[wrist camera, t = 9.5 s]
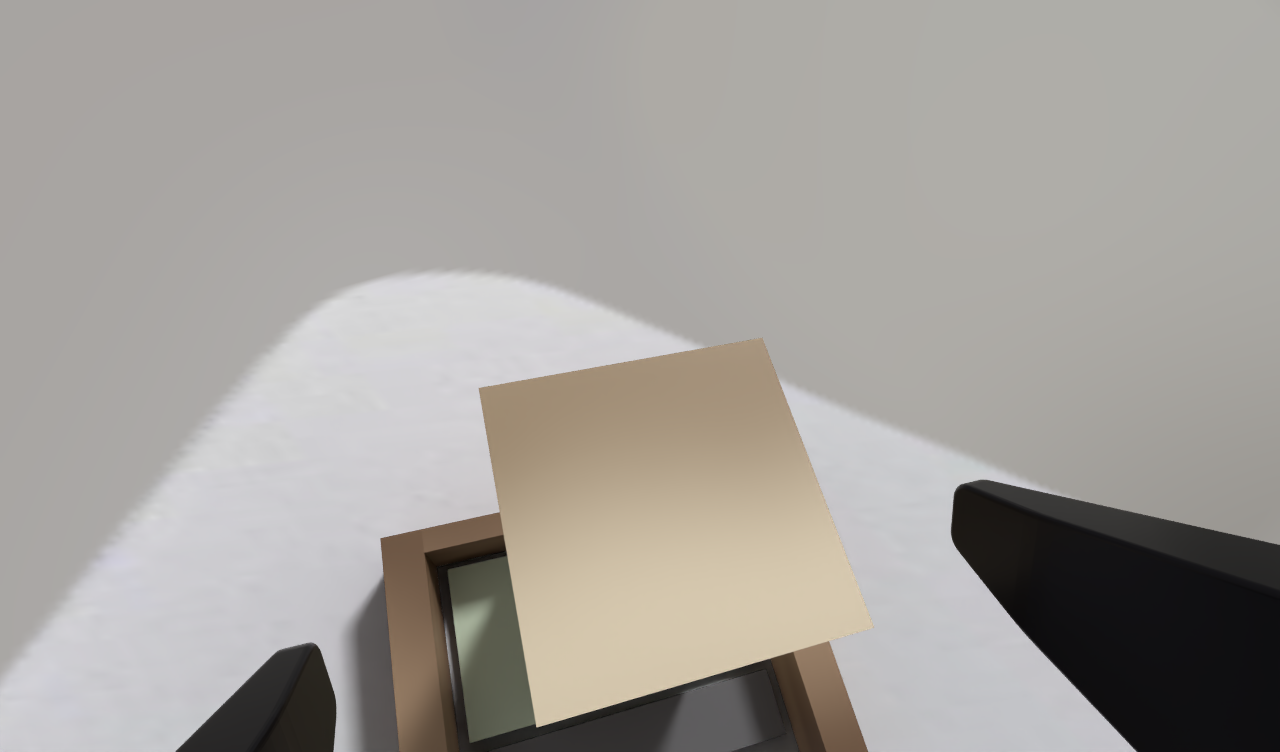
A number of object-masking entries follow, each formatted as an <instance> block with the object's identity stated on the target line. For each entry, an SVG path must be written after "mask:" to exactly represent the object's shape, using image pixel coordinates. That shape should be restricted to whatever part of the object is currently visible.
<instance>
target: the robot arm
mask: <svg viewBox="0 0 1280 752" xmlns="http://www.w3.org/2000/svg"><path fill="white" fill-rule="evenodd" d="M951 536H952V540H953V543H954V545H955V547H956V548H957V550H958V551H959V552H960V554H961V555H962V556H963V557H964V559H965V560H966V561H967V562H968V564H969V565H970V566H971V567H972V569H973V570H974V571H975V573H976V574H977V575H978V576H979V578H980V579H981V580H982V581H983V583H984V584H985V585H986V586H987V588H988V589H989V590H990V591H991V593H992V594H993V595H994V596H995V598H996V599H997V600H998V601H999V603H1000V604H1001V605H1002V606H1003V608H1004V609H1005V610H1006V611H1007V613H1008V614H1009V615H1010V616H1011V618H1012V619H1013V620H1014V621H1015V622H1016V624H1017V625H1018V626H1019V627H1020V628H1021V630H1022V631H1023V632H1024V633H1025V634H1026V635H1027V636H1028V638H1029V639H1030V640H1031V641H1032V642H1033V643H1034V644H1035V645H1036V646H1037V647H1038V648H1039V649H1040V651H1041V652H1042V653H1043V654H1044V655H1045V656H1046V657H1047V658H1048V659H1049V660H1050V661H1051V662H1052V663H1053V664H1054V665H1055V666H1056V667H1057V668H1058V669H1059V670H1060V672H1061V673H1062V674H1063V675H1064V676H1065V677H1066V678H1067V679H1068V680H1069V681H1070V682H1071V683H1072V684H1073V685H1074V686H1075V687H1076V688H1077V689H1078V690H1079V692H1080V693H1081V694H1082V695H1083V696H1084V697H1085V698H1086V699H1087V700H1088V701H1089V702H1090V703H1091V704H1092V705H1093V706H1094V707H1095V708H1096V709H1097V710H1098V711H1099V713H1100V714H1101V715H1102V716H1103V717H1104V718H1105V719H1106V720H1107V721H1108V722H1109V723H1110V724H1111V725H1112V726H1113V727H1114V728H1115V729H1116V730H1117V731H1118V733H1119V734H1120V735H1121V736H1122V737H1123V738H1124V739H1125V740H1126V741H1127V742H1128V743H1129V744H1130V745H1131V746H1132V747H1133V748H1134V749H1135V750H1136V751H1137V752H1280V545H1277V544H1272V543H1268V542H1264V541H1259V540H1255V539H1250V538H1246V537H1241V536H1237V535H1232V534H1228V533H1223V532H1218V531H1214V530H1210V529H1205V528H1201V527H1196V526H1192V525H1187V524H1183V523H1178V522H1174V521H1169V520H1164V519H1160V518H1156V517H1151V516H1147V515H1142V514H1138V513H1133V512H1129V511H1124V510H1120V509H1115V508H1111V507H1106V506H1102V505H1097V504H1093V503H1088V502H1084V501H1079V500H1075V499H1070V498H1066V497H1061V496H1057V495H1052V494H1048V493H1043V492H1039V491H1034V490H1030V489H1025V488H1021V487H1016V486H1012V485H1007V484H1003V483H998V482H994V481H989V480H977V481H973V482H969V483H965V484H961V485H960V486H958V487H957V489H956V490H955V492H954V500H953V512H952V524H951ZM335 725H336V699H335V694H334V691H333V688H332V685H331V681H330V678H329V675H328V672H327V669H326V666H325V663H324V660H323V657H322V654H321V651H320V649H319V648H318V646H317V645H316V644H314V643H306V644H302V645H298V646H293V647H289V648H285V649H282V650H279V651H277V652H276V653H275V654H274V655H273V656H272V657H271V658H270V659H269V660H268V661H266V662H265V663H264V664H263V665H262V666H261V667H260V668H259V669H258V670H257V671H256V672H255V673H254V674H253V675H252V676H251V677H250V678H249V679H248V680H247V681H246V682H245V683H244V684H243V685H242V686H241V687H240V688H239V689H238V690H237V691H236V692H235V693H234V694H233V695H232V696H231V697H230V698H229V699H228V700H227V701H226V702H225V703H224V704H223V705H222V706H221V707H220V708H219V709H218V710H217V711H216V712H215V713H214V714H213V715H212V716H211V717H210V718H209V719H208V720H207V721H206V722H205V723H204V724H203V725H202V726H201V727H200V728H199V729H198V730H197V731H196V732H195V733H194V734H193V735H192V736H191V737H190V738H189V739H188V740H187V741H186V742H185V743H184V744H183V745H182V746H181V747H180V748H179V749H178V750H177V751H176V752H333V750H334V738H335Z"/></svg>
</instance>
